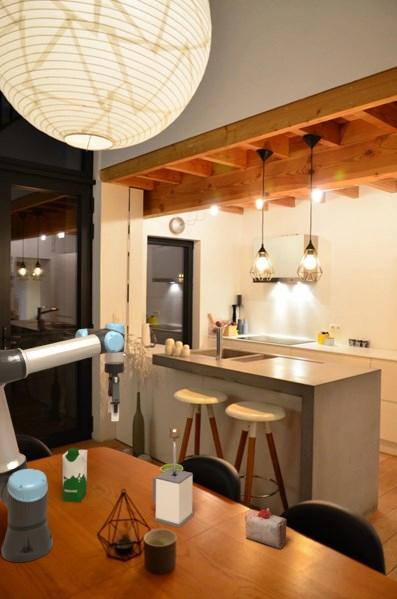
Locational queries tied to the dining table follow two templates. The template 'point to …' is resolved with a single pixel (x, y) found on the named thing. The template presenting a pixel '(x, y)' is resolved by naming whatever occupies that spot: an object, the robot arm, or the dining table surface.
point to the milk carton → (74, 475)
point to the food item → (266, 528)
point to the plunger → (174, 444)
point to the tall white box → (173, 497)
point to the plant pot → (168, 466)
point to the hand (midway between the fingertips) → (113, 416)
